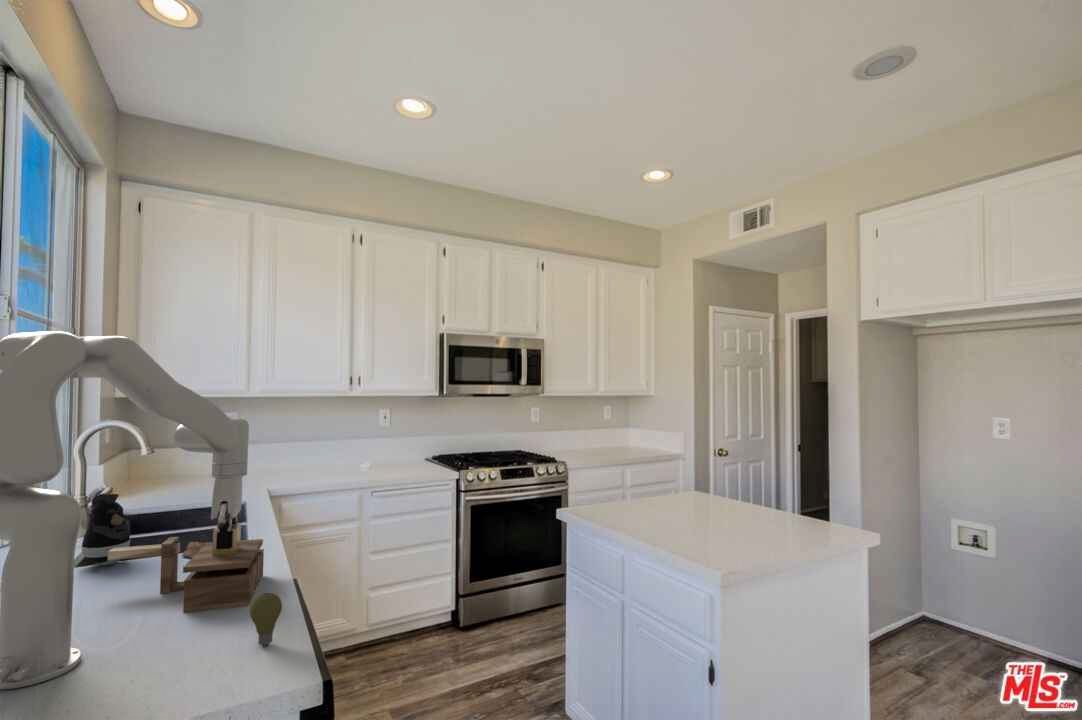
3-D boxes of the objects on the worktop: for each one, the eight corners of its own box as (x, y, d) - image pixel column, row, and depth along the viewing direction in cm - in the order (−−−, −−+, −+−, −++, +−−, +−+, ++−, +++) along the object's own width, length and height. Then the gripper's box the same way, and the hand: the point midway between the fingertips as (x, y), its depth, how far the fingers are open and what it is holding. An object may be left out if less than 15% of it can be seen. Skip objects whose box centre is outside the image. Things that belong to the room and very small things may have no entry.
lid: (248, 569, 125) (249, 535, 126) (182, 575, 121) (184, 539, 122) (262, 545, 144) (263, 515, 145) (206, 549, 140) (207, 519, 141)
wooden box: (248, 605, 125) (250, 553, 126) (137, 617, 119) (139, 562, 119) (262, 575, 144) (264, 530, 145) (167, 584, 138) (169, 537, 138)
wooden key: (176, 554, 135) (176, 546, 135) (107, 560, 130) (108, 551, 130) (179, 551, 137) (180, 542, 137) (113, 556, 133) (113, 547, 133)
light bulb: (245, 654, 103) (247, 600, 104) (252, 640, 109) (253, 589, 109) (278, 650, 105) (279, 597, 105) (283, 637, 110) (284, 586, 111)
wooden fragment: (232, 559, 158) (232, 556, 158) (187, 567, 151) (187, 563, 151) (215, 539, 178) (215, 536, 178) (174, 546, 171) (175, 542, 171)
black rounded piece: (102, 573, 145) (105, 497, 146) (69, 570, 148) (72, 495, 148) (139, 560, 156) (142, 489, 157) (108, 557, 158) (111, 487, 159)
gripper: (220, 465, 141) (217, 537, 140) (203, 475, 125) (199, 557, 124) (253, 464, 143) (250, 535, 142) (240, 474, 127) (236, 554, 126)
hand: (226, 544), depth 133 cm, fingers closed on lid, 5 cm apart
